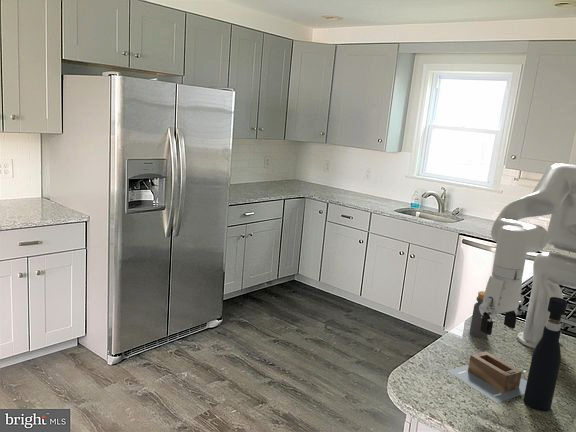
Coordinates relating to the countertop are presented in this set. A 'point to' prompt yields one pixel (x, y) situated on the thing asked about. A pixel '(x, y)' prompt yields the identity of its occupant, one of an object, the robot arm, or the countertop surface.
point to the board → (487, 385)
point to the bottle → (478, 318)
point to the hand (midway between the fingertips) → (497, 329)
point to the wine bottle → (546, 360)
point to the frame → (494, 371)
